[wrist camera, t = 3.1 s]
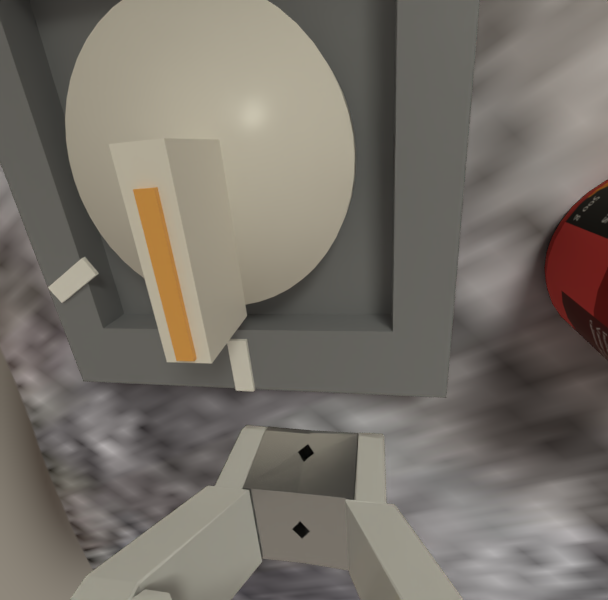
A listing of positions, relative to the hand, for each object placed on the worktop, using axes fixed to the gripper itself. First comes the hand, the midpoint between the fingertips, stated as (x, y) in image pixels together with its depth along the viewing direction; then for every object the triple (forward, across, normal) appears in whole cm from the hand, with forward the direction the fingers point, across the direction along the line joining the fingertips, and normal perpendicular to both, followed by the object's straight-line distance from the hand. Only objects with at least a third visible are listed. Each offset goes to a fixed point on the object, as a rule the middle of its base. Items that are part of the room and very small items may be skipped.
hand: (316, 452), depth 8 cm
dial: (+10, +5, -6) cm, 13 cm away
